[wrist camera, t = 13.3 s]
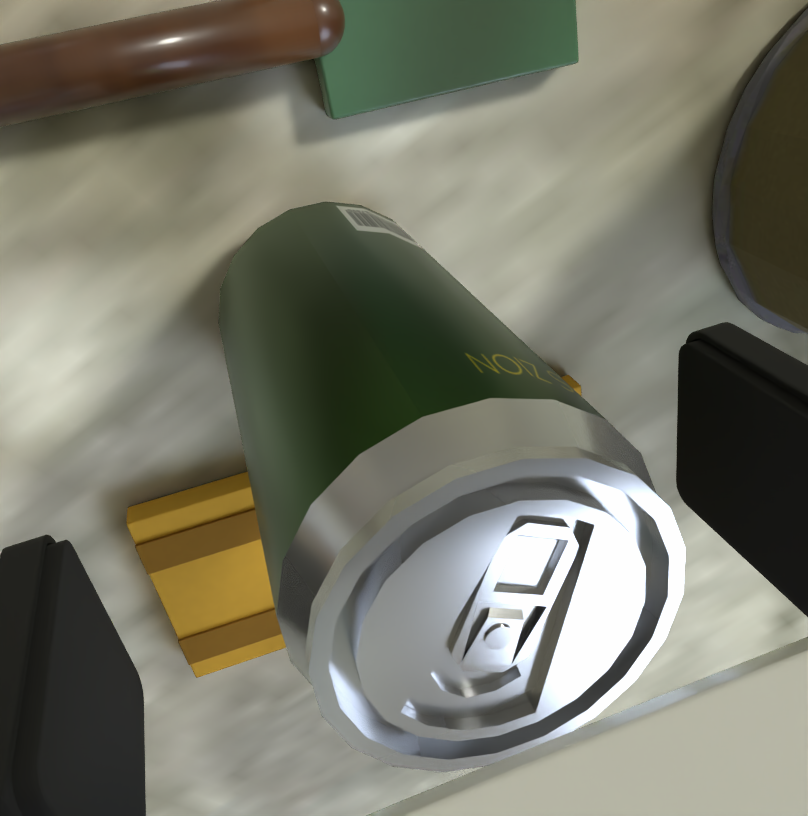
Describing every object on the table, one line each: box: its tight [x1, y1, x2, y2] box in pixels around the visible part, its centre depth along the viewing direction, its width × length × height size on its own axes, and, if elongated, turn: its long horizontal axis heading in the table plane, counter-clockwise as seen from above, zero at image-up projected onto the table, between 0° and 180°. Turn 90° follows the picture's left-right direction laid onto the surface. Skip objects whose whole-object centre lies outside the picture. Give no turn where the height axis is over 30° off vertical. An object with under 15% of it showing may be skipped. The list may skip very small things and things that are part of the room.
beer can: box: [218, 202, 686, 772], centre depth 15 cm, size 5×5×12 cm
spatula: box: [0, 0, 578, 127], centre depth 16 cm, size 17×4×1 cm, turn 100°
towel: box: [127, 375, 582, 678], centre depth 23 cm, size 13×6×1 cm, turn 100°
